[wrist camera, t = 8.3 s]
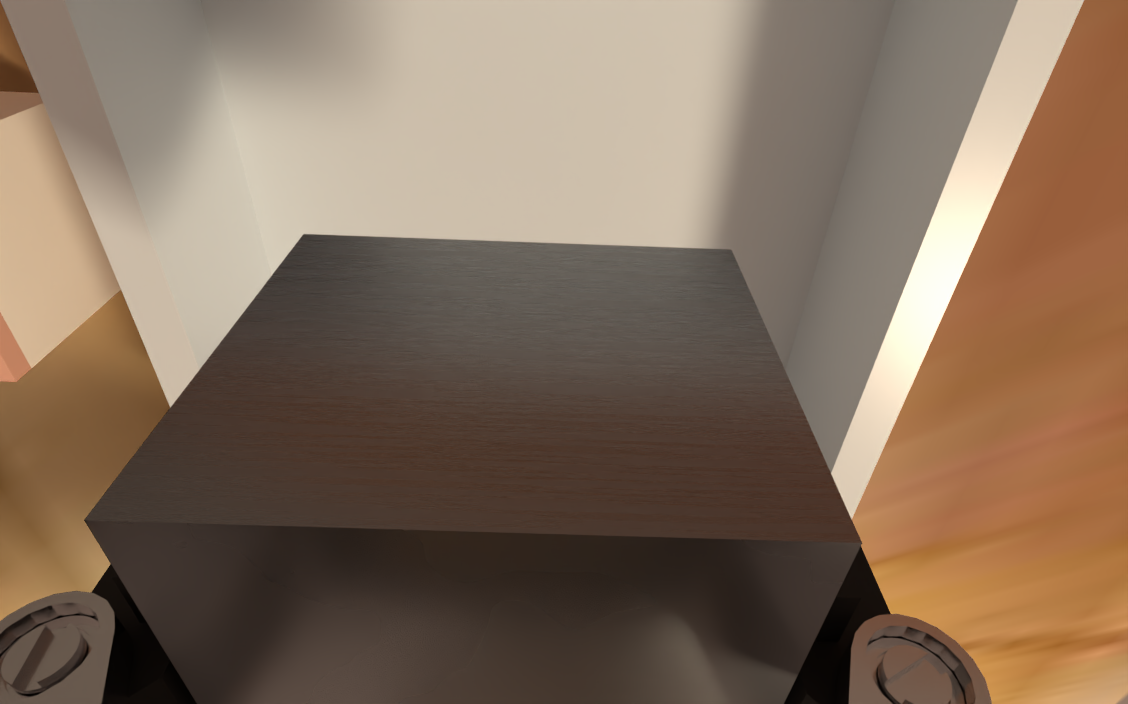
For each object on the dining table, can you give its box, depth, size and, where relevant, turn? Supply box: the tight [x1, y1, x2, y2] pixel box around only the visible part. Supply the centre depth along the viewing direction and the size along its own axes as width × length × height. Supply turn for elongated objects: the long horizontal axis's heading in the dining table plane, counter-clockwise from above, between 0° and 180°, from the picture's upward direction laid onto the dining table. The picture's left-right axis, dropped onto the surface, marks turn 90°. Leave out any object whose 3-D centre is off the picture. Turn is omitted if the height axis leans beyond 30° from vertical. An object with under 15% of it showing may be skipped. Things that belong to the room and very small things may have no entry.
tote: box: [0, 0, 1084, 519], centre depth 18 cm, size 20×20×6 cm
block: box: [84, 234, 862, 704], centre depth 9 cm, size 6×6×5 cm
